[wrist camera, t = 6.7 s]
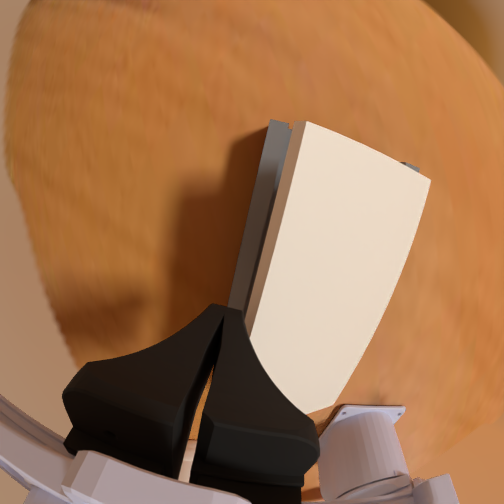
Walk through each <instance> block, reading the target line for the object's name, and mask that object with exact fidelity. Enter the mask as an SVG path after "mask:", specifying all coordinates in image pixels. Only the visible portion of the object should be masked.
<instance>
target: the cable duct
mask: <svg viewBox="0 0 504 504" xmlns="http://www.w3.org/2000/svg"><path fill="white" fill-rule="evenodd" d="M288 126H289V123H285V122H280V121H276V120H272V119H270V122H269V127H268V131H267V135H266V139H265V143H264V148H263V152H262V156H261V160H260V164H259V169H258V173H257V177H256V182H255V186H254V190H253V194H252V199H251V203H250V207H249V212H248V216H247V221H246V225H245V229H244V234H243V238H242V243H241V247H240V252H239V256H238V260H237V265H236V269H235V274H234V279H233V283H232V288H231V292H230V297H229V301H228V306H227V307H230V308H234V309H238V310H242V312H243V313H244V321H245V317H246V313H247V309H248V306H249V302H250V298H251V294H252V290H253V286H254V282H255V278H256V274H257V271H258V267H259V263H260V259H261V255H262V251H263V247H264V243H265V239H266V235H267V231H268V227H269V223H270V219H271V215H272V211H273V207H274V203H275V199H276V195H277V191H278V187H279V183H280V179H281V175H282V170H283V166H284V162H285V158H286V154H287V150H288V146H289V142H290V138H291V133H292V130H291V129H288ZM400 163H402V164H403V165H405V166H407V167H409V168H411V169H413V170H414V171H416V172H418V173H419V169H420V168H418V167H415V166H413V165H411V164H408V163H406V162H400Z"/></svg>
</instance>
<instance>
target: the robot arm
mask: <svg viewBox="0 0 504 504" xmlns="http://www.w3.org/2000/svg"><path fill="white" fill-rule="evenodd" d="M213 365H214V367H213ZM212 368H213V374H212V382H211V386H210V389H209V392H208V396H207V399H206V402H205V406H204V409H203V412H202V418H201V423H200V428H199V433H198V439H197V444H196V449H195V454H194V458H193V462H192V466H191V470H190V478H189V483H187V482H183V481H179V480H178V478H179V474H180V470H181V466H182V462H183V458H184V454H185V450H186V446H187V442H188V439H189V435H190V431H191V427H192V423H193V420H194V416H195V412H196V409H197V406H198V403H199V401H200V398H201V396H202V393H203V391H204V388H205V386H206V383H207V380H208V378H209V375H210V373H211V370H212ZM62 399H63V403H64V406H65V409H66V411H67V413H68V416H69V418H70V421H71V423H72V425H73V428H72V429H71V431H70V432H69V434H68V436H67V437H66V439H65V438H63V437H62V436H60V435H58V434H56V433H55V432H53V431H52V430H50V429H48V428H47V427H45V426H44V425H42V424H40V423H39V422H37V421H36V420H34V419H33V418H31V417H30V416H28V415H27V414H26V413H24V412H23V411H22V410H20V409H19V408H17V407H16V406H15V405H14V404H12V403H11V402H9V401H8V400H7V399H6V398H5V397H3V396H2V395H1V394H0V468H1V469H2V470H4V471H5V472H6V473H7V474H8V475H10V476H11V477H12V478H13V479H14V480H16V481H17V482H18V483H20V484H21V485H22V486H23V487H25V488H26V489H27V490H29V491H30V492H29V493H28V496H27V497H26V499H25V501H24V503H23V504H459V501H458V498H457V495H456V492H455V489H454V486H453V484H452V481H451V478H450V475H449V474H444V475H440V476H437V477H433V478H430V479H427V480H425V479H420V478H419V477H417V478H415V479H413V481H412V479H411V477H410V475H409V472H408V469H407V465H406V462H405V459H404V456H403V452H402V449H401V446H400V443H399V440H398V437H397V434H396V431H395V428H394V424H395V423H396V421H397V420H398V419H399V418H400V417H401V416H402V414H403V413H404V412H405V410H406V408H405V406H360V405H344V406H342V407H341V408H340V409H339V411H338V412H337V414H336V415H335V417H334V418H333V419H332V421H331V422H330V424H329V425H328V426H327V428H326V429H325V430H324V432H323V433H322V434H321V436H320V437H319V438H318V435H317V431H316V428H315V424H314V421H313V420H312V419H310V418H309V417H308V416H307V415H305V414H304V413H303V412H302V411H301V410H299V409H298V408H297V407H296V406H295V405H294V404H292V403H291V402H290V401H289V400H288V399H287V398H286V397H285V395H284V394H283V393H282V392H281V391H280V390H279V389H278V387H277V386H276V385H275V384H274V382H273V381H272V380H271V378H270V377H269V375H268V374H267V372H266V371H265V369H264V368H263V366H262V364H261V362H260V361H259V359H258V357H257V355H256V353H255V350H254V348H253V346H252V343H251V341H250V338H249V335H248V332H247V329H246V325H245V321H244V313H243V312H242V310H238V309H234V308H230V307H226V306H222V305H218V304H214V303H212V304H211V305H209V306H208V307H207V308H206V309H205V310H204V311H203V312H202V313H201V314H200V315H199V316H198V317H197V318H195V319H194V320H193V321H192V322H191V323H189V324H188V325H187V326H185V327H184V328H183V329H181V330H180V331H178V332H177V333H175V334H174V335H172V336H170V337H169V338H167V339H165V340H163V341H161V342H160V343H158V344H156V345H153V346H151V347H149V348H146V349H144V350H141V351H139V352H136V353H132V354H129V355H125V356H121V357H117V358H113V359H107V360H100V361H93V362H87V363H86V364H85V365H84V366H83V367H82V368H81V369H80V370H79V371H78V373H77V374H76V375H75V376H74V377H73V379H72V380H71V381H70V383H69V384H68V385H67V387H66V388H65V389H64V391H63V394H62ZM317 460H318V470H319V482H320V492H321V495H322V497H323V499H324V500H325V502H301V487H303V486H304V474H305V473H306V472H307V471H308V470H309V469H310V468H311V467H312V466H313V465H314V464H315V463H316V462H317Z"/></svg>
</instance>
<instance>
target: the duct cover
mask: <svg viewBox="0 0 504 504" xmlns="http://www.w3.org/2000/svg"><path fill="white" fill-rule="evenodd" d="M430 182H431V180H430V179H428V178H427V177H425V176H423V175H421V174H420V173H418V172H416V171H414V170H413V169H411V168H409V167H407V166H405V165H403V164H402V163H400V162H398V161H396V160H394V159H392V158H390V157H388V156H386V155H384V154H382V153H380V152H378V151H376V150H374V149H372V148H370V147H368V146H365V145H363V144H361V143H359V142H357V141H354V140H352V139H350V138H348V137H345V136H343V135H341V134H338V133H336V132H333V131H331V130H329V129H326V128H324V127H321V126H318V125H316V124H313V123H311V122H308V121H294V125H293V129H292V133H291V138H290V142H289V146H288V150H287V154H286V158H285V162H284V166H283V170H282V175H281V179H280V183H279V187H278V191H277V195H276V199H275V203H274V207H273V211H272V215H271V219H270V223H269V227H268V231H267V235H266V239H265V243H264V247H263V251H262V255H261V259H260V263H259V267H258V271H257V274H256V278H255V282H254V286H253V290H252V294H251V298H250V302H249V306H248V309H247V313H246V317H245V325H246V329H247V332H248V335H249V338H250V341H251V343H252V346H253V348H254V350H255V353H256V355H257V357H258V359H259V361H260V362H261V364H262V366H263V368H264V369H265V371H266V372H267V374H268V375H269V377H270V378H271V380H272V381H273V382H274V384H275V385H276V386H277V387H278V389H279V390H280V391H281V392H282V393H283V394H284V395H285V397H286V398H287V399H288V400H289V401H290V402H291V403H292V404H294V405H295V406H296V407H297V408H298V409H299V410H301V411H302V412H303V413H304V414H308V413H311V412H314V411H317V410H320V409H323V408H326V407H329V406H332V405H333V404H334V402H335V401H336V399H337V398H338V396H339V394H340V393H341V391H342V390H343V388H344V386H345V385H346V383H347V381H348V380H349V378H350V376H351V375H352V373H353V371H354V369H355V368H356V366H357V364H358V362H359V361H360V359H361V357H362V355H363V353H364V351H365V350H366V348H367V346H368V344H369V342H370V340H371V338H372V336H373V334H374V332H375V330H376V328H377V326H378V324H379V322H380V320H381V318H382V316H383V314H384V311H385V309H386V307H387V305H388V303H389V300H390V298H391V296H392V293H393V291H394V289H395V286H396V284H397V282H398V279H399V277H400V274H401V272H402V269H403V267H404V264H405V261H406V259H407V256H408V253H409V251H410V248H411V245H412V242H413V239H414V236H415V233H416V230H417V227H418V224H419V221H420V218H421V215H422V211H423V208H424V204H425V201H426V197H427V194H428V190H429V186H430Z"/></svg>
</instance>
